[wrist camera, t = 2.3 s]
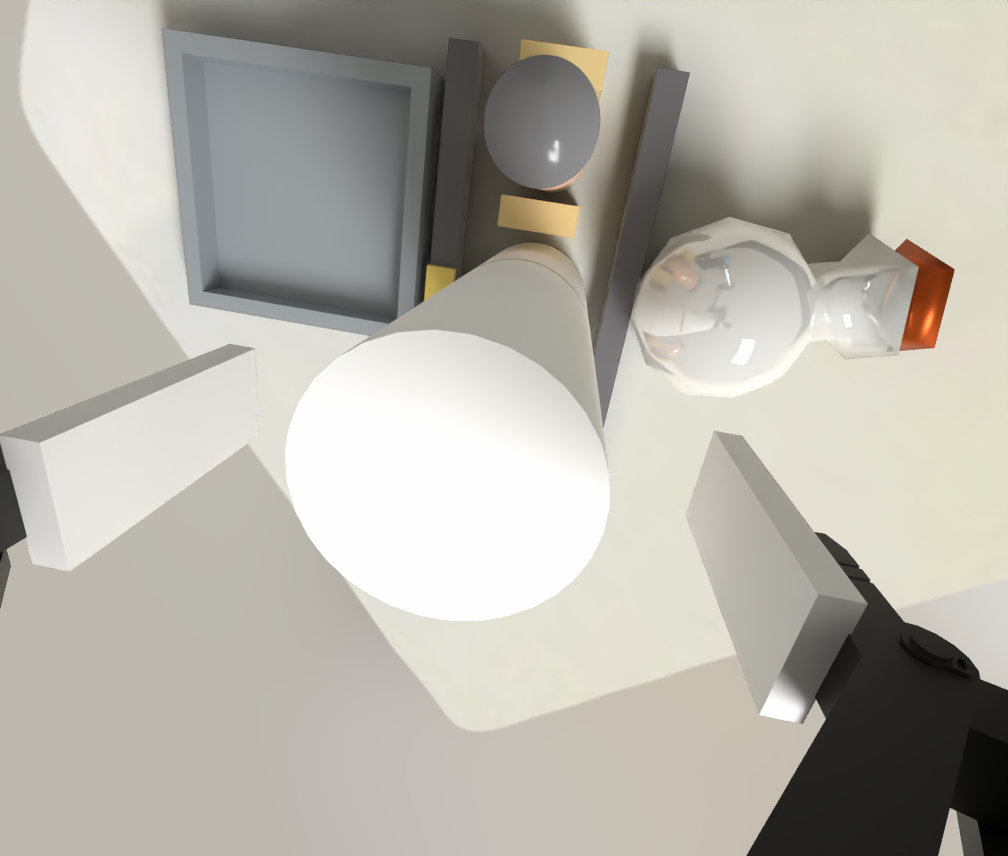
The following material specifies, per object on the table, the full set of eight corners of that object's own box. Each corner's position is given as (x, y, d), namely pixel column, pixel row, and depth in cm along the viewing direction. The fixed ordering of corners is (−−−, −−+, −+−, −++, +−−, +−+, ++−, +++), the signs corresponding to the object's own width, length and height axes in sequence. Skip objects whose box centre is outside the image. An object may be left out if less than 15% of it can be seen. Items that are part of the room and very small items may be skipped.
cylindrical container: (453, 298, 35) (225, 478, 12) (531, 216, 32) (430, 247, 9) (528, 374, 36) (451, 665, 13) (608, 302, 34) (682, 508, 11)
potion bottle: (609, 280, 34) (840, 264, 34) (624, 423, 32) (872, 408, 32) (638, 184, 25) (953, 161, 25) (663, 374, 23) (1009, 353, 23)
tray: (192, 41, 31) (161, 27, 28) (442, 78, 30) (431, 67, 28) (213, 297, 37) (189, 304, 34) (421, 334, 36) (411, 343, 34)
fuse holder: (456, 48, 29) (428, 12, 24) (682, 80, 29) (708, 51, 23) (419, 457, 40) (395, 498, 34) (584, 488, 39) (586, 534, 34)
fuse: (524, 108, 30) (491, 46, 18) (596, 119, 30) (612, 63, 18) (513, 188, 32) (477, 178, 20) (581, 199, 31) (586, 196, 20)
